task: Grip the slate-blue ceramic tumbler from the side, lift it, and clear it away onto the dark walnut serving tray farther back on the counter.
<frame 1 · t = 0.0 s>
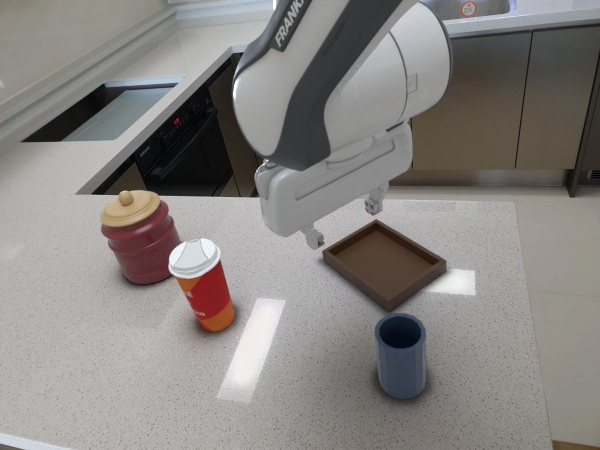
hand: (346, 228, 58), 22 cm above the table, tool pointing down, fingers open, 8 cm apart
kitchen canister: (156, 264, 95), on the table
tray: (382, 265, 83), on the table
tumbler: (402, 378, 64), on the table
coffee cup: (218, 319, 80), on the table
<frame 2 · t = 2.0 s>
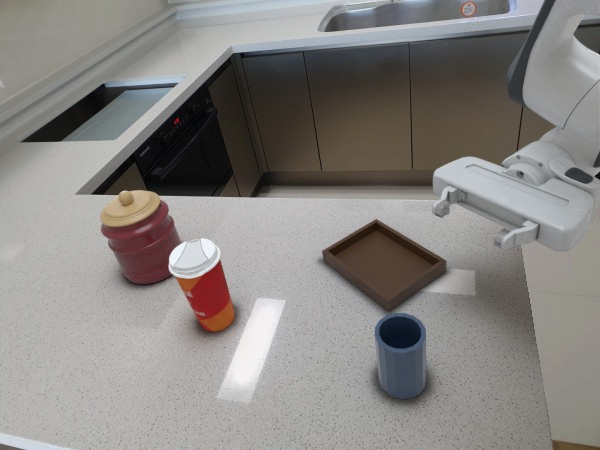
hand: (465, 226, 57), 20 cm above the table, tool horizontal, fingers open, 8 cm apart
nothing on the table moved.
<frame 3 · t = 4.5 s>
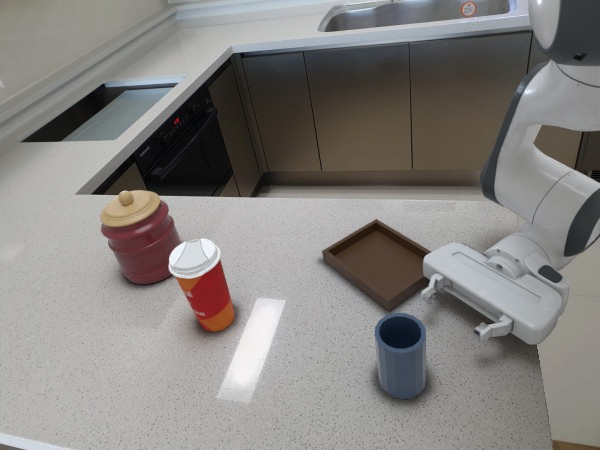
hand: (449, 316, 65), 6 cm above the table, tool horizontal, fingers open, 8 cm apart
nothing on the table moved.
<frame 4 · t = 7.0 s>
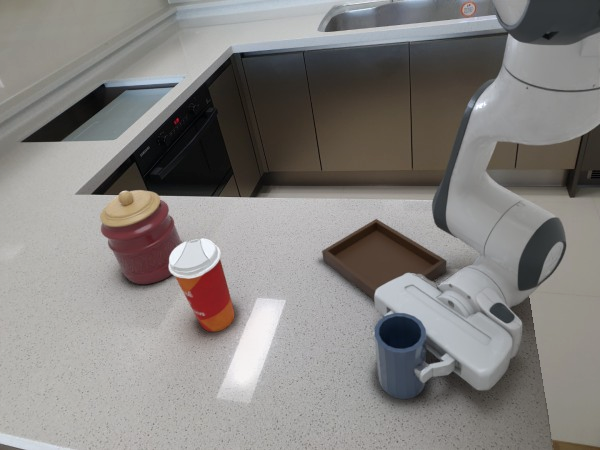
hand: (396, 357, 61), 6 cm above the table, tool horizontal, fingers closed on tumbler, 6 cm apart
tumbler: (402, 378, 64), on the table, touching gripper
everything else where it was.
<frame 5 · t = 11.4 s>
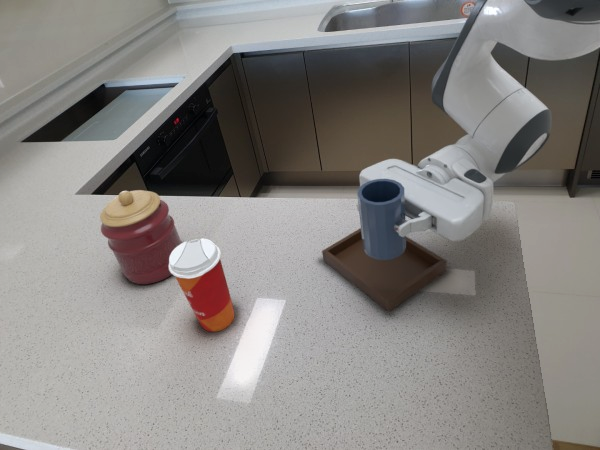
hand: (378, 219, 66), 17 cm above the table, tool horizontal, fingers closed on tumbler, 6 cm apart
tumbler: (384, 245, 70), point 12 cm above the table, touching gripper
everything else where it was.
when the fingers open (6 cm above the table, at t = 16.1 s): tumbler stays where it is, resting on tray.
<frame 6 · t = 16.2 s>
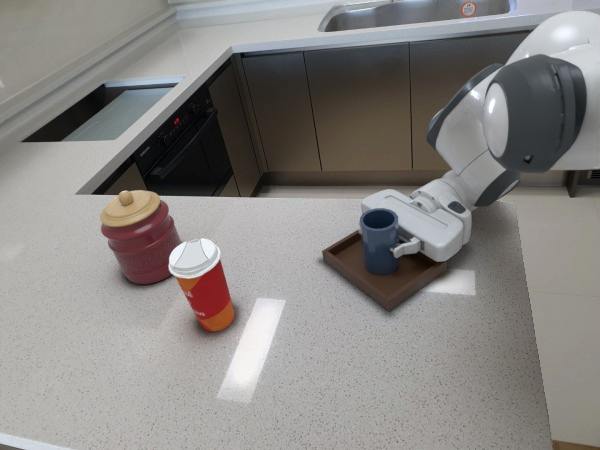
hand: (376, 242, 80), 6 cm above the table, tool horizontal, fingers open, 6 cm apart
tumbler: (382, 263, 83), point 1 cm above the table, touching tray
everything else where it was.
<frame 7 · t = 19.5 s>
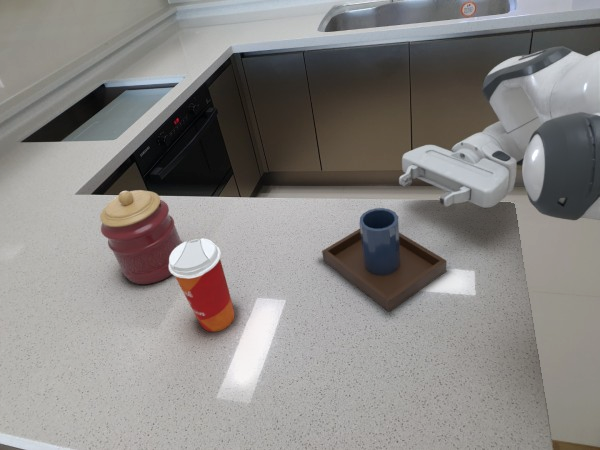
hand: (421, 191, 80), 11 cm above the table, tool horizontal, fingers open, 8 cm apart
nothing on the table moved.
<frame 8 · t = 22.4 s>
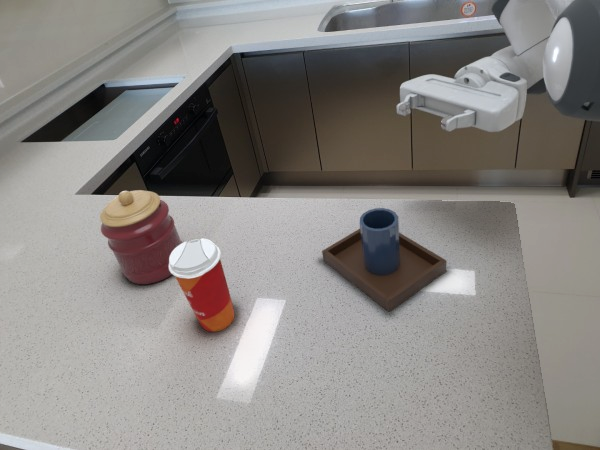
hand: (421, 118, 73), 25 cm above the table, tool horizontal, fingers open, 8 cm apart
nothing on the table moved.
at the end: tumbler inside the target area in the tray (0.1 cm from its centre), point 0.5 cm above the tray's base; tumbler tilted 0°; the gripper is holding nothing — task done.
